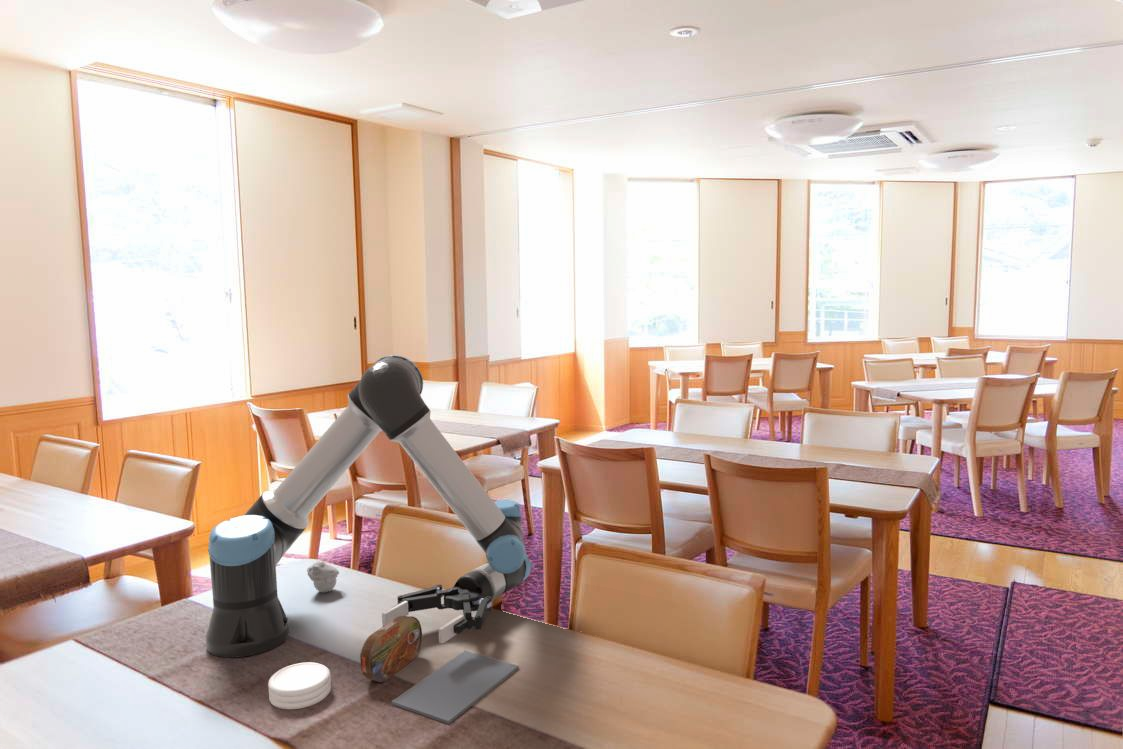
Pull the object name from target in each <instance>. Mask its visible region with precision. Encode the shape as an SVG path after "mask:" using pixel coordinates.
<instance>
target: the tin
mask: <svg viewBox="0 0 1123 749" xmlns="http://www.w3.org/2000/svg"><path fill="white" fill-rule="evenodd" d="M422 639H423V629H422V625H421V623H420V621H419V619H418V618H417V617H416V616H413V615H412V616H409V615H407V616H399V617H397V618H395V619H393V620H392V621H391V622H389V623H388V624H386V625H385V626H383V625H382V627H381V628H379V629H377V630H376V631H373V633H371V634H370V635H369V636H368V637H367V638H366V639H365V641H364V643H363V646H362V648H361V652H360V654H359V655H360V669H361V673H362V675H363V677H365V678H366V680H367V679H368V680H371V681H375V682H378V683H385V682H386V681H387V680H389V679H390V678H392V677H393V676H394V675H396V674H397V673H398V672H400V671H401V670H402V669H403V668H404V667H407V665H409V664H410V663H411V662H413V661H414V659H415V658H416V657H417V655H418V653H419V651H420V649H421V645H422Z"/></svg>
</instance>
